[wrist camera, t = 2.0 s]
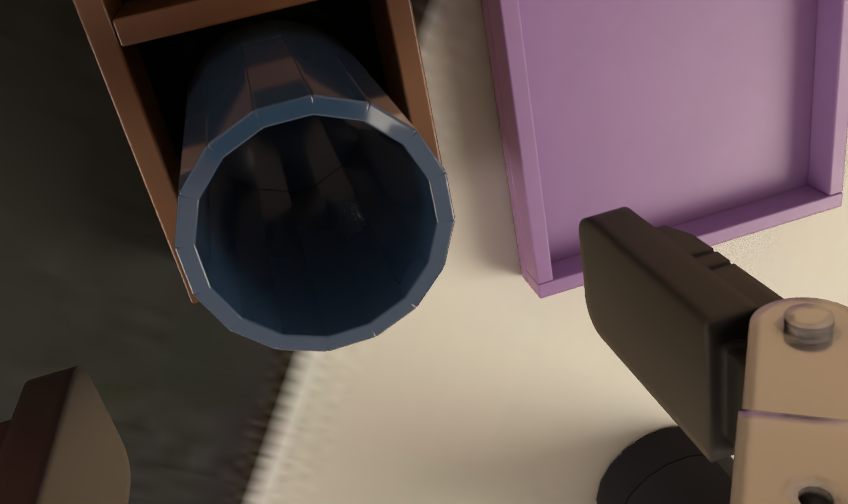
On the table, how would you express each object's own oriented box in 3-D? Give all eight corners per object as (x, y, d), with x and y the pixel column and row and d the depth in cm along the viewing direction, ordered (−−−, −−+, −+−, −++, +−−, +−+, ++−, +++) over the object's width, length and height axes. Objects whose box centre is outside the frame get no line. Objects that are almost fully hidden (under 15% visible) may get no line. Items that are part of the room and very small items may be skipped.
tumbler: (159, 43, 22) (132, 140, 14) (346, -2, 23) (426, 64, 15) (220, 215, 25) (226, 383, 16) (385, 170, 26) (471, 308, 17)
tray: (459, -143, 22) (479, -145, 20) (832, -225, 24) (877, -233, 22) (522, 276, 29) (540, 299, 27) (809, 189, 30) (842, 206, 29)
